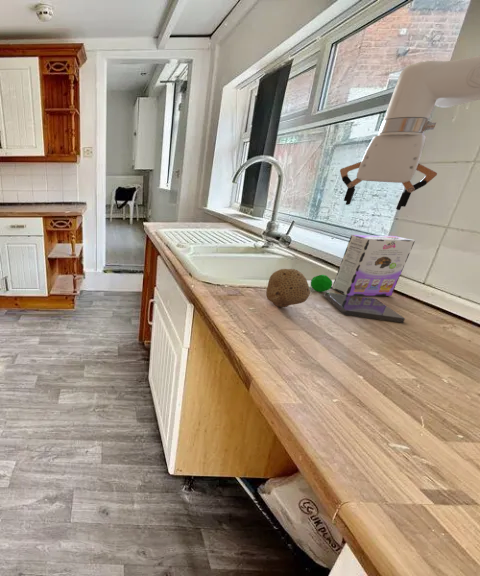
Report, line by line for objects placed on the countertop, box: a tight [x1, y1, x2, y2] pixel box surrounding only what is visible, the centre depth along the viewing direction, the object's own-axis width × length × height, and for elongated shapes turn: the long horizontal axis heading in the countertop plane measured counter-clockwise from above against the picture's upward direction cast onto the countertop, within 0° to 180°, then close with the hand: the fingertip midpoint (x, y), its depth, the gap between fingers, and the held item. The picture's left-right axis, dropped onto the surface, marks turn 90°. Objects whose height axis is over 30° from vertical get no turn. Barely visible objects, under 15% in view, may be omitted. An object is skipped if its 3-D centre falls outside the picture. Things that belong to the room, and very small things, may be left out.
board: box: [324, 292, 406, 324], centre depth 78 cm, size 12×12×1 cm
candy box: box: [331, 234, 416, 297], centre depth 86 cm, size 14×6×16 cm, turn 94°
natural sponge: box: [265, 268, 311, 308], centre depth 75 cm, size 9×9×10 cm
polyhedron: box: [310, 274, 333, 293], centre depth 88 cm, size 5×5×5 cm
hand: (371, 206), depth 75 cm, fingers open, 9 cm apart
